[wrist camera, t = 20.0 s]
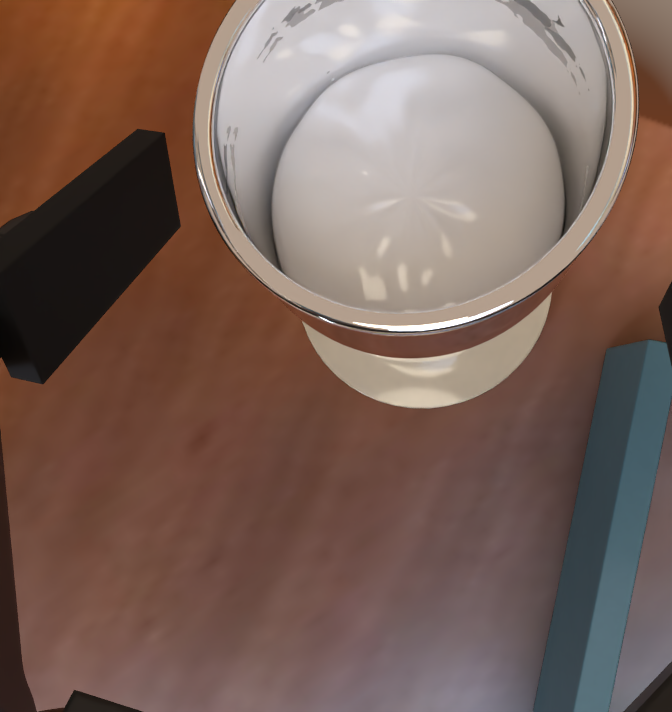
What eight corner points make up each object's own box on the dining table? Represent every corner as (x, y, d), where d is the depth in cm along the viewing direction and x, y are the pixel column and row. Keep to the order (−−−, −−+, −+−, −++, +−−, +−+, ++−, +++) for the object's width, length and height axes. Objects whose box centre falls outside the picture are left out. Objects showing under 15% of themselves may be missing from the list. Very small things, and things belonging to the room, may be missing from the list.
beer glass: (516, 197, 23) (666, -138, 8) (508, 377, 23) (647, 362, 8) (339, 196, 24) (192, -101, 9) (329, 367, 24) (161, 339, 9)
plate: (280, 193, 25) (277, 189, 25) (521, 134, 24) (523, 130, 23) (322, 427, 24) (320, 428, 24) (574, 383, 23) (577, 383, 22)
